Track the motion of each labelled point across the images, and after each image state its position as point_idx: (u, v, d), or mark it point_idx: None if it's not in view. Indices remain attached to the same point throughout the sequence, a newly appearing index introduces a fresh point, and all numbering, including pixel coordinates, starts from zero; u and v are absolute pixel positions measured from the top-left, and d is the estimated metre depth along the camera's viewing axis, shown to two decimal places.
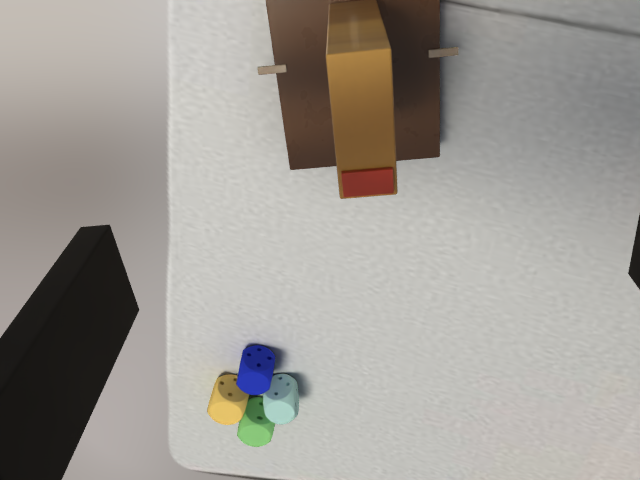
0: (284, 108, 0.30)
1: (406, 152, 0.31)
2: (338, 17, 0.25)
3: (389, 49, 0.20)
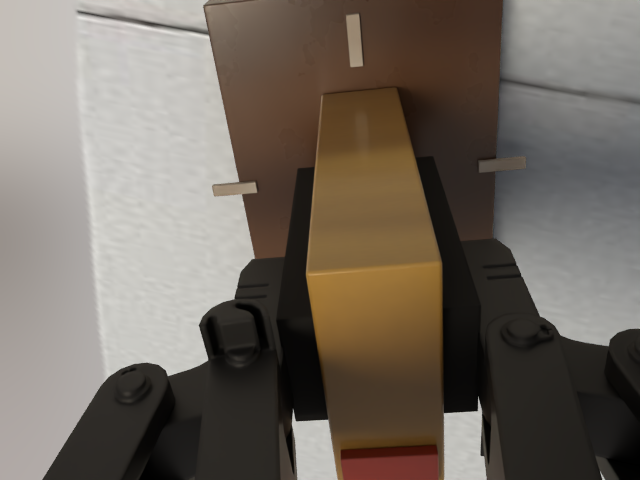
0: (256, 240, 0.20)
1: None
2: (335, 136, 0.14)
3: (438, 264, 0.09)
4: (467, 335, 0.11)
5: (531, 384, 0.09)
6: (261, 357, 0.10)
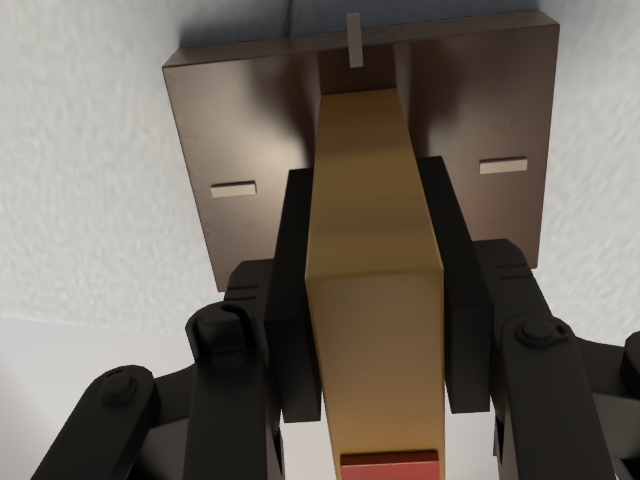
0: None
1: (537, 89, 0.17)
2: (334, 137, 0.14)
3: (439, 269, 0.09)
4: (480, 335, 0.11)
5: (546, 384, 0.09)
6: (248, 359, 0.10)
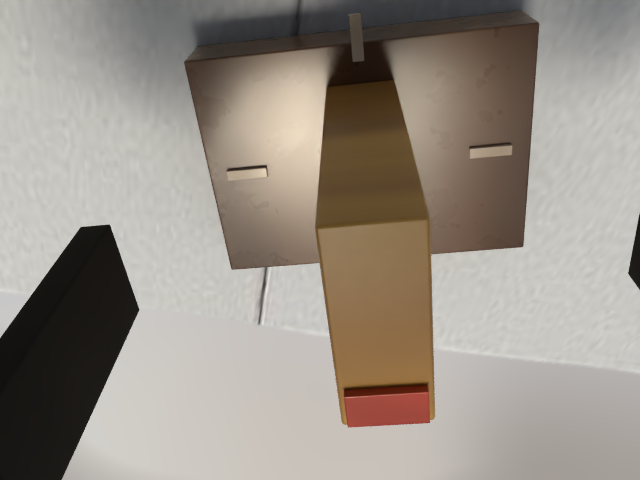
0: None
1: (520, 81, 0.19)
2: (339, 121, 0.16)
3: (426, 218, 0.11)
4: None
5: None
6: None
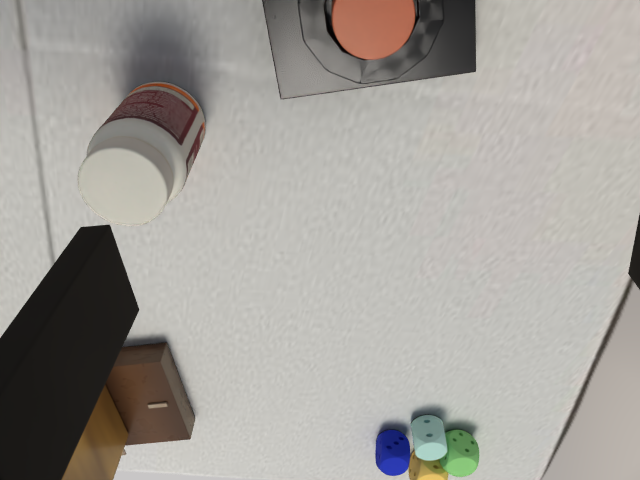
0: (145, 442, 0.45)
1: (161, 380, 0.42)
2: None
3: None
4: None
5: None
6: None
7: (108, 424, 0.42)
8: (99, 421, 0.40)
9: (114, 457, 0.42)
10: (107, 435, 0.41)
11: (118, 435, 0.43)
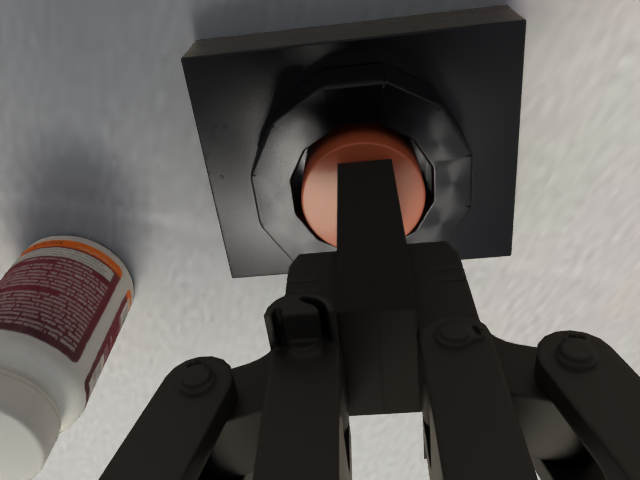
0: None
1: None
2: None
3: None
4: (406, 337, 0.11)
5: (466, 385, 0.09)
6: (323, 352, 0.10)
7: None
8: None
9: None
10: None
11: None
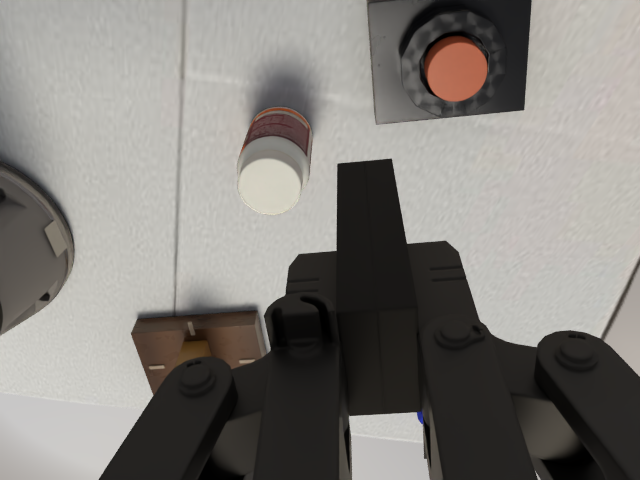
0: None
1: (252, 340, 0.52)
2: None
3: None
4: (406, 337, 0.11)
5: (465, 385, 0.09)
6: (323, 352, 0.10)
7: None
8: None
9: None
10: None
11: None
